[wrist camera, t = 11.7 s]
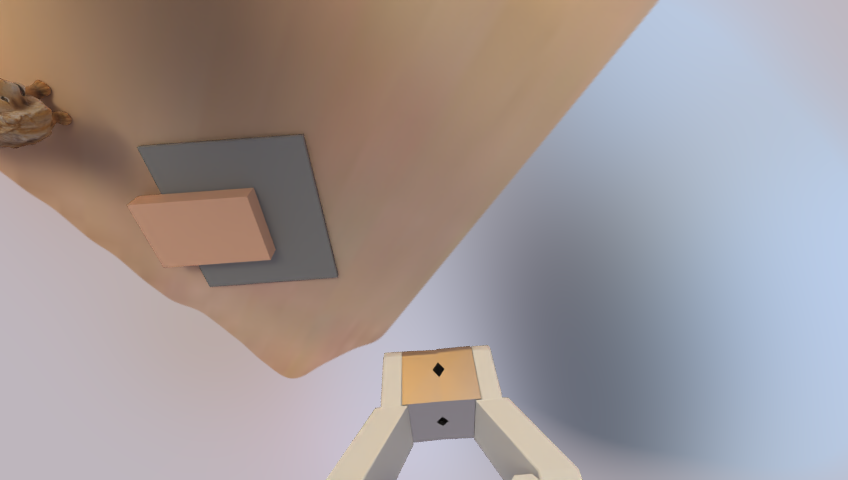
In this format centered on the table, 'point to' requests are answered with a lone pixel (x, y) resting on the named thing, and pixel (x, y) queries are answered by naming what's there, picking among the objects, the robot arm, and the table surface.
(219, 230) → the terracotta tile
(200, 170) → the rubber mat
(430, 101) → the table surface
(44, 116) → the lion figurine
